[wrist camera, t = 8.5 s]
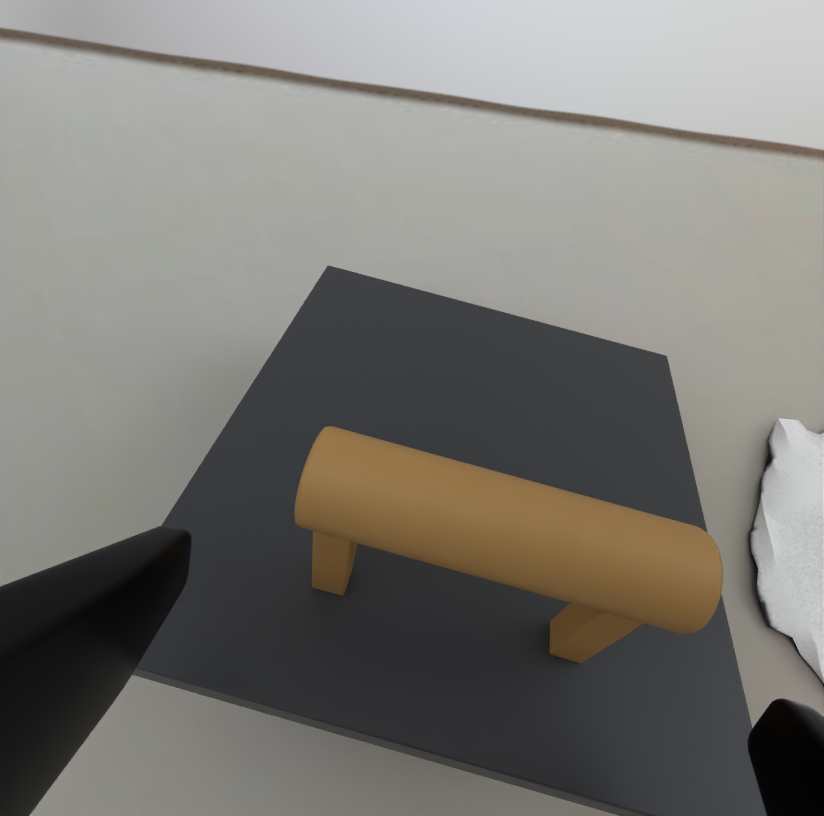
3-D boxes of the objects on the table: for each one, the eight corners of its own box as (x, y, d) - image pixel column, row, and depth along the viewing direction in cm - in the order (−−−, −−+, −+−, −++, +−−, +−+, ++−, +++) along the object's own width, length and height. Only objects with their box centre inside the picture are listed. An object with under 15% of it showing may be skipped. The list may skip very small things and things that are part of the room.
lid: (750, 853, 9) (1089, 863, 5) (94, 664, 9) (-58, 535, 5) (655, 371, 18) (751, 243, 14) (327, 283, 18) (332, 134, 14)
